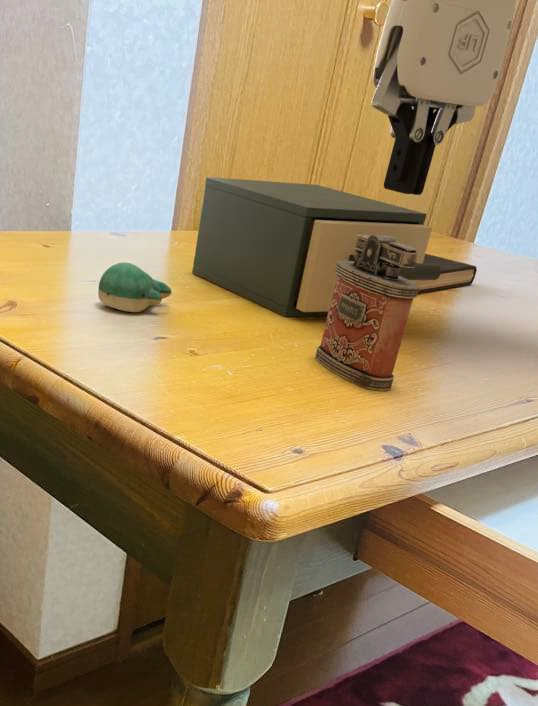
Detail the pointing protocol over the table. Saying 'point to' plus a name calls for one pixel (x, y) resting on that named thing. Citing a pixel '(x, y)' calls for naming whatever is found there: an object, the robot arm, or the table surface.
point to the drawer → (352, 255)
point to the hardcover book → (447, 275)
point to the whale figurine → (130, 288)
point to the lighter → (369, 312)
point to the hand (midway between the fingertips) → (402, 191)
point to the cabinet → (272, 235)
